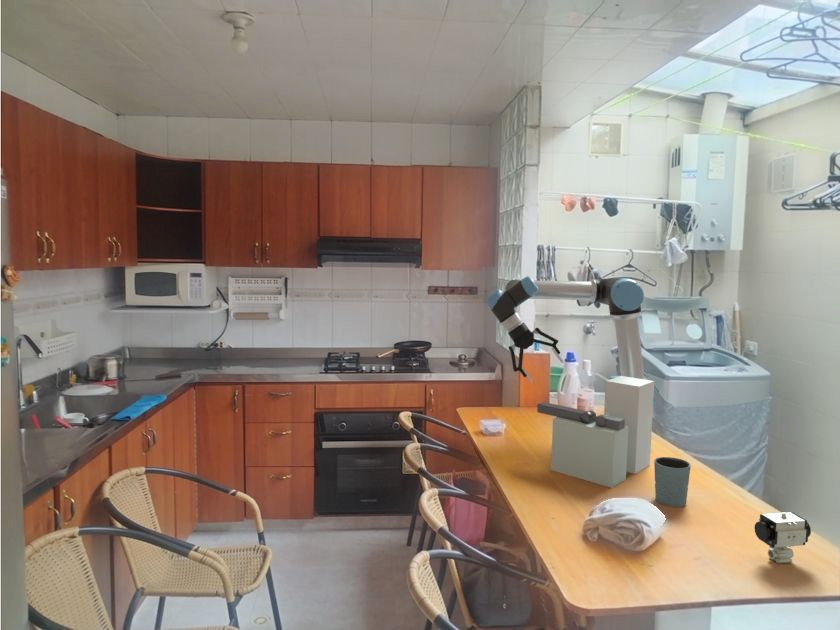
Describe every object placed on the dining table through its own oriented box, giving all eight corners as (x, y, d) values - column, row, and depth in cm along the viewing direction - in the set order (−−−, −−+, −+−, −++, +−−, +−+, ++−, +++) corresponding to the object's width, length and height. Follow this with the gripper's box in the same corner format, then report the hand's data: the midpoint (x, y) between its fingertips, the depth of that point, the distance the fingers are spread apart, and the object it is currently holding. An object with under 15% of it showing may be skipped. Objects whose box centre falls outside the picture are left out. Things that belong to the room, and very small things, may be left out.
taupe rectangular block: (601, 464, 208) (605, 380, 205) (617, 456, 217) (621, 375, 214) (635, 474, 200) (639, 386, 197) (649, 465, 209) (654, 381, 206)
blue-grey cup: (672, 510, 172) (674, 470, 171) (644, 497, 181) (646, 459, 180) (696, 504, 177) (698, 465, 175) (667, 491, 186) (670, 454, 184)
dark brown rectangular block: (536, 412, 209) (536, 403, 208) (544, 409, 212) (544, 400, 212) (588, 424, 195) (588, 414, 194) (595, 421, 198) (596, 411, 198)
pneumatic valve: (751, 557, 146) (755, 510, 145) (793, 553, 148) (797, 507, 147) (768, 568, 141) (771, 520, 139) (811, 565, 142) (815, 517, 141)
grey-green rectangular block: (551, 469, 203) (553, 408, 201) (566, 462, 210) (568, 403, 208) (611, 488, 188) (614, 422, 186) (625, 479, 195) (629, 415, 193)
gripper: (488, 345, 226) (521, 392, 224) (543, 307, 224) (576, 354, 223) (488, 345, 233) (519, 389, 232) (541, 308, 231) (573, 353, 230)
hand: (547, 372), depth 227 cm, fingers open, 13 cm apart
